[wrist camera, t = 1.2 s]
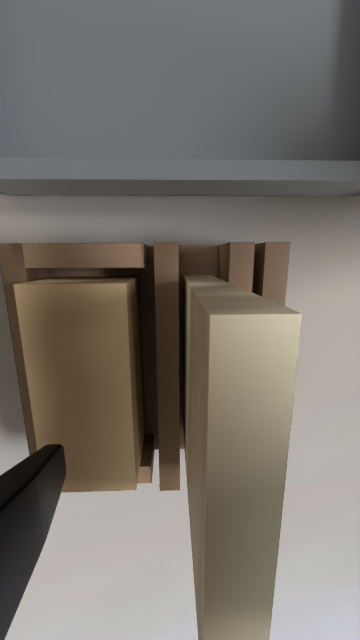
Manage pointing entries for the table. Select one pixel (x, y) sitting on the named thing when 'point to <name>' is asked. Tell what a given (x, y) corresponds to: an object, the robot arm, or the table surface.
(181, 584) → the table surface
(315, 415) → the table surface
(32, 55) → the gray tray
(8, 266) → the walnut rack
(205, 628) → the birch sheet
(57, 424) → the upper oak offcut
